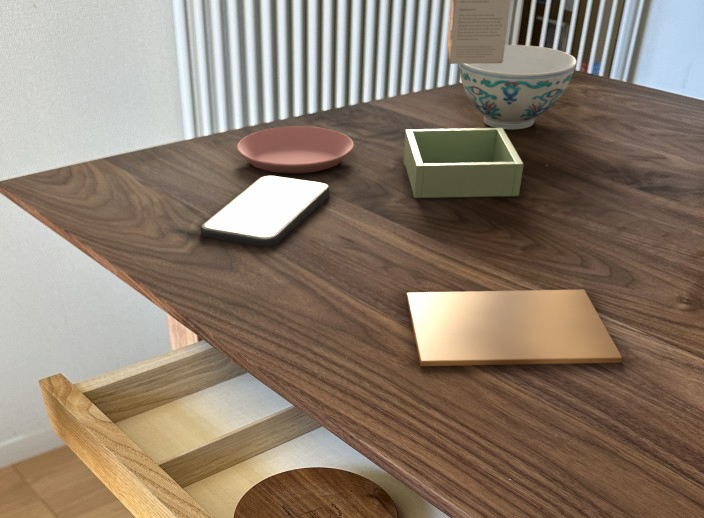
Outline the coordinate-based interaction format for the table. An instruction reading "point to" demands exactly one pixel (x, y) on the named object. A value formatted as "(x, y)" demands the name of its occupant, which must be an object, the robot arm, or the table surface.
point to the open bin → (462, 163)
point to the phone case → (266, 211)
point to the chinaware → (517, 84)
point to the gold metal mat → (509, 328)
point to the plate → (295, 149)
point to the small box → (477, 31)
